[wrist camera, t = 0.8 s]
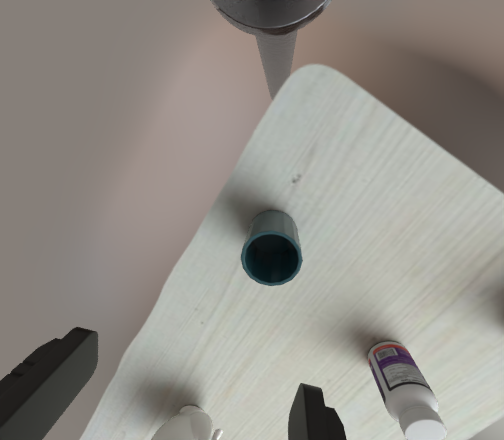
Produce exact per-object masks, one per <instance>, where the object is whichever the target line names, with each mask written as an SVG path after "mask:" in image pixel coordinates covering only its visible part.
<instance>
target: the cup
mask: <svg viewBox="0 0 504 440" xmlns="http://www.w3.org/2000/svg"><path fill="white" fill-rule="evenodd" d="M241 261H242V265H243V269H244V270H245V271H246V273H247V274H248V276H249V277H250V278H252V279H253V280H255V281H256V282H258V283H260V284H264V285H268V286H275V285H282V284H284V283H286V282H288V281H290V280H292V279H293V278H294V277H295V276H296V275H297V274H298V272H299V271H300V268H301V265H302V261H303V260H302V253H301V247H300V242H299V236H298V231H297V226H296V224H295V222H294V221H293V219H292V218H291V217H290V216H289V215H287V214H286V213H284V212H281V211H277V210H269V211H265V212H262V213H260V214H259V215H257V216H256V217H255V218H254V220H253V221H252V223H251V224H250V227H249V230H248V233H247V236H246V239H245V243H244V246H243V249H242V254H241Z"/></svg>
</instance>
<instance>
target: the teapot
mask: <svg viewBox="0 0 504 440" xmlns="http://www.w3.org/2000/svg"><path fill="white" fill-rule="evenodd" d="M222 433H223V430H222V429H217V430H216V431H215V432H214V435H213V423H212V420H211V418H210V416H209V415H208V414H207V413H205V412H204V411H203V410H202V409H200V408H199V407H196V406H191V405H188V406H184V407H182V408H181V409H180V411H179V414H178V415H177V416H175V417H173V418H171V419H169V420H168V421H166V422H165V423H164V424H163V425H162V426H161V427H160V428H159V429H158V430H157V431H156V433H155V434H154V436H153V437H152V439H151V440H218V439H219V438H220V436H221V435H222ZM212 435H213V437H212Z"/></svg>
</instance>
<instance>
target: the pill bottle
mask: <svg viewBox="0 0 504 440" xmlns="http://www.w3.org/2000/svg"><path fill="white" fill-rule="evenodd" d="M368 362H369V365H370V368H371V371H372V373H373V376H374V378H375V381H376V383H377V386H378V388H379V391H380V393H381V396H382V398H383V401H384V404H385V406H386V408H387V411H388V412H389V414H390V415H391V417H392V418H393V419H395V420H396V421H397V422H399V424H400V427H401V429H402V431H403V433H404V435H405V437H406V439H407V440H444V438H445V437H446V434H447V431H446V428H445V426H444V424H443V422H442V420H441V419H440V417H439V415H438V414H437V412H438V401H437V399H436V397H435V395H434V393H433V392H432V390H431V389H430V387H429V385H428V384H427V382H426V380H425V379H424V377H423V375H422V374H421V372H420V370H419V369H418V367H417V365H416V364H415V362H414V360H413V359H412V357H411V355H410V353H409V352H408V350H407V349H406V348H405V347H404V346H403V345H401V344H399V343H396V342H391V341H388V342H381V343H379V344H377V345H375V346H374V347H373V348H372V349H371V350H370V351H369V354H368Z"/></svg>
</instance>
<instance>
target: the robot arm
mask: <svg viewBox="0 0 504 440" xmlns="http://www.w3.org/2000/svg"><path fill="white" fill-rule="evenodd" d="M97 362H98V334H97V332H96V331H92V330H88V329H84V328H80V327H76V328H74V329H72V330H71V331H70V332H69V333H68V334H67V335H66V336H65V337H64V338H62V339H57V338H55V339H53V340H52V341H50V342H48V343H46V344H44V345H42V346H40V347H39V348H37V349H36V350H35V351H34V352H33V353H32V354H30V355H29V356H28V357H27V358H26V359H25V360H24V361H23V363H20V364H19V365H18V366H17V367H16V368H14V369H13V370H12V371H11V373H10V374H8V375H6V376H5V377H4V378H3V379H2V380H1V381H0V440H42V439H43V438H44V437H45V435H46V434H47V433H48V432H49V430H50V429H51V428H52V426H53V425H54V424H55V423H56V421H57V420H58V419H59V417H60V416H61V415H62V414H63V412H64V411H65V410H66V408H67V407H68V406H69V405H70V403H71V402H72V401H73V400H74V398H75V397H76V396H77V394H78V393H79V392H80V391H81V389H82V388H83V387H84V386H85V384H86V383H87V382H88V381H89V379H90V378H91V376H92V375H93V373H94V371H95V369H96V366H97ZM288 440H346V435H345V431H344V426H343V424H342V422H341V420H340V418H339V416H338V415H337V413H336V411H335V409H334V408H330V407H326V406H325V404H324V398H323V392H322V389H321V388H319V387H315V386H311V385H307V384H303V383H301V384H300V385H299V388H298V390H297V393H296V396H295V399H294V402H293V404H292V407H291V410H290V414H289V422H288Z"/></svg>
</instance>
